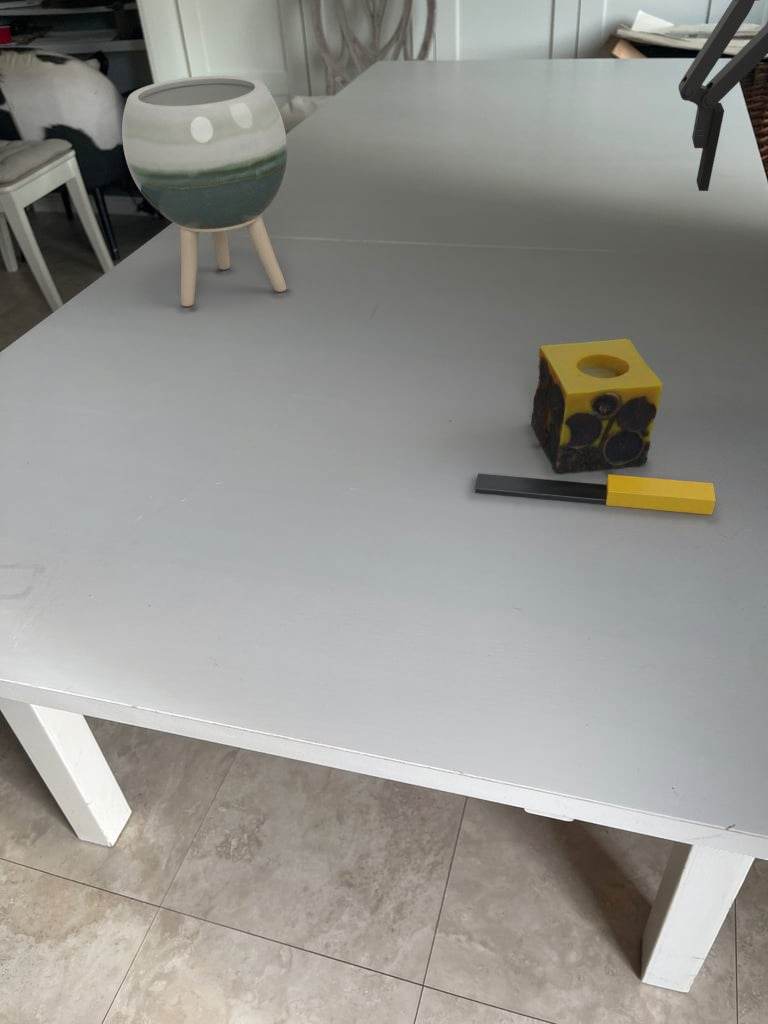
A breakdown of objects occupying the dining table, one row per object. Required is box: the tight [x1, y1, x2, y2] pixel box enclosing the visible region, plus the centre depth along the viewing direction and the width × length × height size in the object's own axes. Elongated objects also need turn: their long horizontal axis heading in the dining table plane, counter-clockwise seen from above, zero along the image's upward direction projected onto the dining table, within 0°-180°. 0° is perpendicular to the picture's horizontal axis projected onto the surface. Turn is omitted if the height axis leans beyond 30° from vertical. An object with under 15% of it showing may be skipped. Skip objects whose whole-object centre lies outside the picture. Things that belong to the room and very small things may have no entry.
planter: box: [121, 75, 288, 308], centre depth 116 cm, size 22×22×28 cm
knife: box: [474, 473, 717, 516], centre depth 81 cm, size 23×3×2 cm, turn 78°
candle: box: [530, 338, 664, 474], centre depth 85 cm, size 10×10×10 cm
